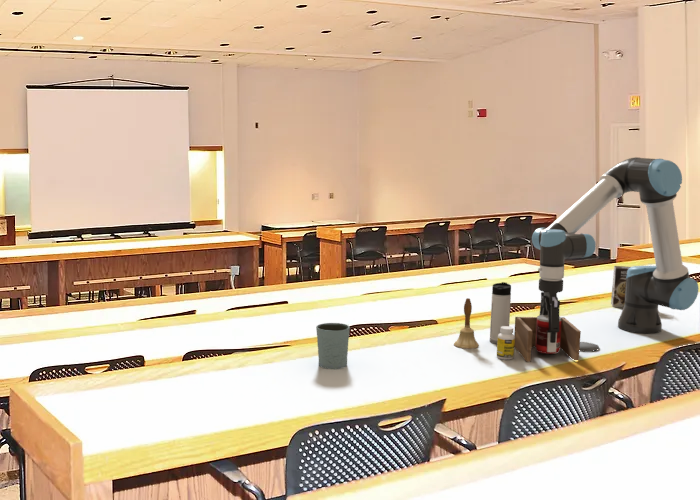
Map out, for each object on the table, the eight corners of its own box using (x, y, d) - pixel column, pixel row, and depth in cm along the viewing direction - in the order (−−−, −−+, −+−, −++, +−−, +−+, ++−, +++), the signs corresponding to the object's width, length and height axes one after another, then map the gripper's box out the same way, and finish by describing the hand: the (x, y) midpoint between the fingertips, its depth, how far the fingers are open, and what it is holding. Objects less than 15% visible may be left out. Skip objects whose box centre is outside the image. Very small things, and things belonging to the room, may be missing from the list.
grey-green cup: (337, 371, 256) (338, 332, 254) (309, 365, 262) (309, 327, 260) (355, 363, 265) (356, 325, 263) (327, 358, 270) (328, 320, 268)
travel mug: (510, 340, 296) (513, 283, 293) (505, 345, 290) (508, 286, 287) (492, 338, 298) (495, 281, 295) (487, 342, 292) (490, 284, 289)
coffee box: (612, 307, 351) (615, 268, 349) (610, 303, 358) (613, 265, 355) (636, 308, 350) (639, 269, 347) (633, 305, 356) (636, 266, 354)
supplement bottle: (503, 360, 272) (505, 330, 270) (493, 356, 276) (494, 326, 275) (517, 358, 274) (519, 328, 273) (506, 354, 279) (508, 324, 277)
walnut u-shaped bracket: (562, 346, 290) (564, 317, 288) (578, 362, 272) (580, 331, 270) (513, 346, 289) (515, 316, 287) (526, 361, 271) (528, 330, 269)
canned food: (558, 347, 282) (559, 314, 280) (561, 354, 274) (563, 320, 273) (534, 346, 283) (535, 313, 281) (536, 353, 275) (538, 319, 273)
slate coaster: (593, 343, 294) (593, 341, 294) (602, 351, 284) (603, 350, 284) (564, 343, 294) (564, 341, 294) (572, 351, 284) (572, 349, 284)
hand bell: (478, 349, 284) (480, 302, 281) (452, 347, 285) (454, 300, 283) (479, 343, 292) (481, 296, 289) (454, 341, 293) (456, 295, 291)
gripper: (531, 272, 285) (528, 339, 289) (548, 285, 264) (544, 357, 268) (554, 272, 285) (550, 339, 289) (572, 285, 265) (568, 357, 268)
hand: (547, 348), depth 279 cm, fingers closed on canned food, 8 cm apart
